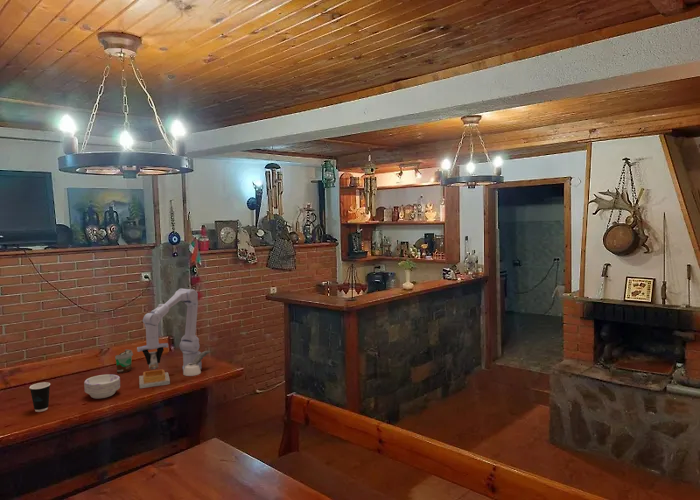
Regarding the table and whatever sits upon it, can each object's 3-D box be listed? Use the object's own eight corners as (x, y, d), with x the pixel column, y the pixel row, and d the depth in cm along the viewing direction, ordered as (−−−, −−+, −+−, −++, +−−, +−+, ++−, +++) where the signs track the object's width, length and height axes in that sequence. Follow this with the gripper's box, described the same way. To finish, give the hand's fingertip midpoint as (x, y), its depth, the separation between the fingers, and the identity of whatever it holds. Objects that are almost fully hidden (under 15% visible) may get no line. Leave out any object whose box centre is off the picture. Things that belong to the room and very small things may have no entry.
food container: (127, 373, 270) (126, 355, 269) (116, 373, 270) (115, 355, 270) (137, 366, 283) (136, 349, 282) (126, 366, 283) (125, 349, 282)
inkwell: (179, 374, 268) (178, 356, 267) (205, 365, 283) (204, 347, 283) (191, 377, 263) (190, 358, 262) (217, 367, 279) (216, 349, 278)
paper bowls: (127, 390, 245) (127, 374, 244) (104, 402, 230) (103, 385, 230) (101, 388, 249) (100, 372, 248) (77, 399, 234) (76, 382, 234)
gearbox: (168, 375, 266) (167, 367, 266) (170, 384, 253) (169, 375, 253) (139, 379, 260) (138, 371, 260) (139, 388, 248) (139, 379, 247)
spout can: (157, 366, 259) (156, 351, 259) (160, 369, 254) (159, 353, 253) (148, 368, 257) (147, 352, 257) (150, 370, 251) (149, 354, 251)
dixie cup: (48, 404, 228) (47, 381, 228) (54, 409, 223) (52, 385, 222) (28, 410, 223) (26, 385, 222) (34, 414, 217) (32, 389, 216)
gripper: (165, 333, 262) (166, 358, 263) (135, 337, 254) (136, 363, 256) (168, 336, 256) (169, 362, 257) (137, 340, 248) (139, 367, 250)
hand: (153, 363), depth 256 cm, fingers closed on spout can, 4 cm apart
